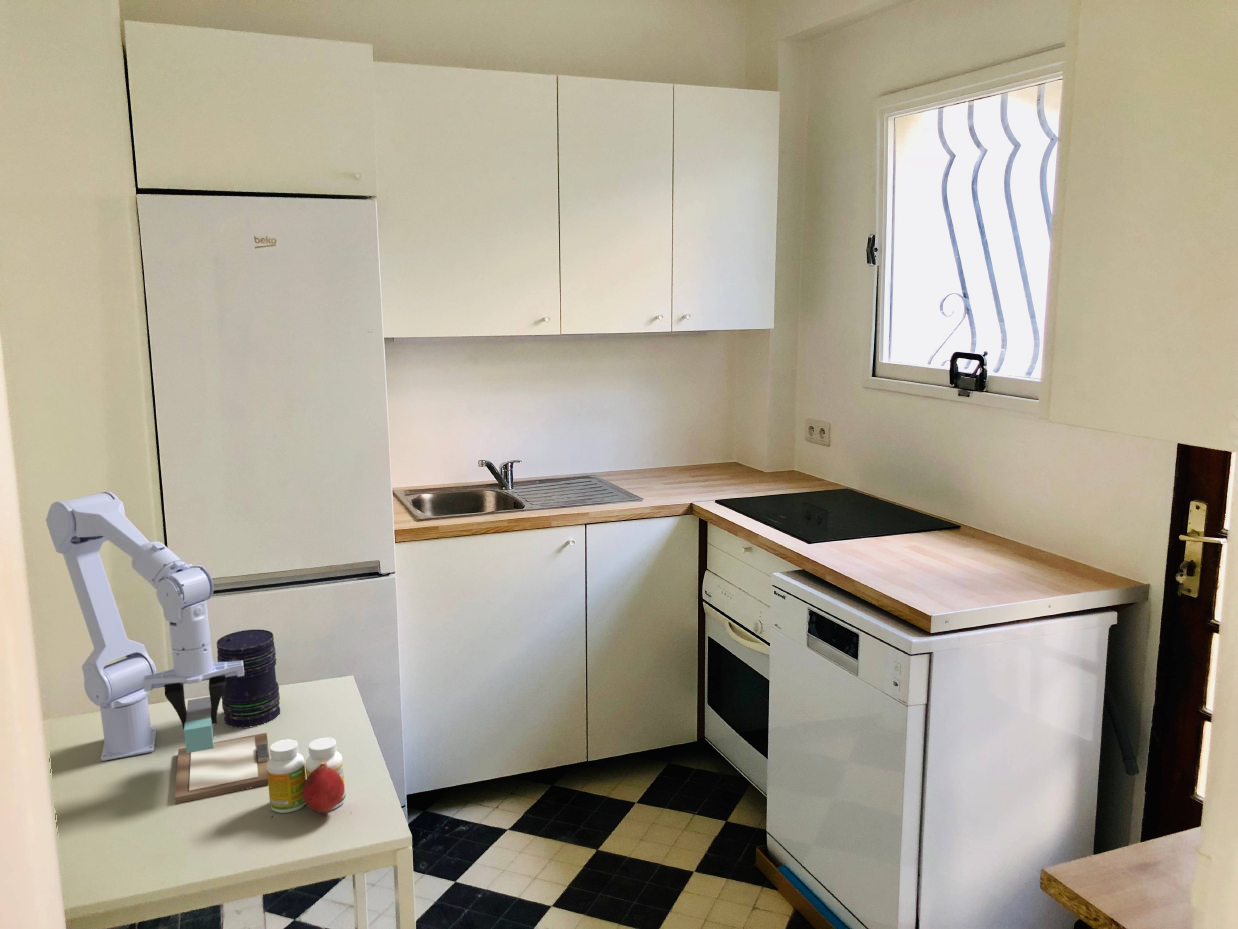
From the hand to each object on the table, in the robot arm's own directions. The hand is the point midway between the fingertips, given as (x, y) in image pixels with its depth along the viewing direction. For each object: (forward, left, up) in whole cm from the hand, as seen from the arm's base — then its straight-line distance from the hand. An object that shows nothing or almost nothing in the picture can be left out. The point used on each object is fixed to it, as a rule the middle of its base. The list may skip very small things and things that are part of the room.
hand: (200, 724), depth 152 cm
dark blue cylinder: (-19, +8, -9) cm, 22 cm away
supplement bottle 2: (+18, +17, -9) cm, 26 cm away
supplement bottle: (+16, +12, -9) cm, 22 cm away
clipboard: (0, +3, -9) cm, 9 cm away
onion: (+21, +17, -9) cm, 28 cm away
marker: (0, 0, -2) cm, 2 cm away
